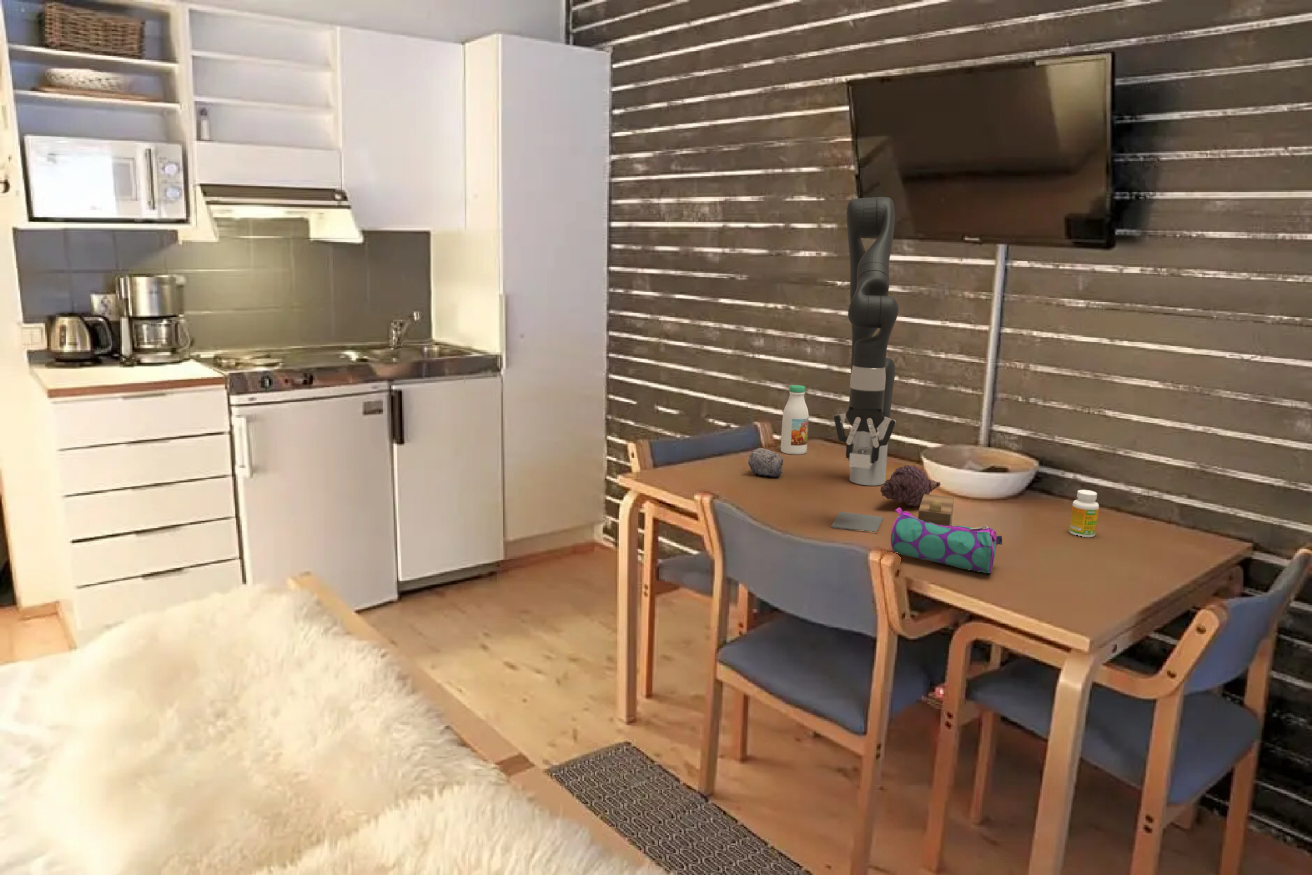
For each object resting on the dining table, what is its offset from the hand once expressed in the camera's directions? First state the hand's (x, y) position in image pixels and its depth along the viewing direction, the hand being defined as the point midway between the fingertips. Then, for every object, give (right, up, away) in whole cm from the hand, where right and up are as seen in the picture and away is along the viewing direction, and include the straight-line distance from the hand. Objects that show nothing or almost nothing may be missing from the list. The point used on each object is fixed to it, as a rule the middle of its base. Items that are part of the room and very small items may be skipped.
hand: (861, 461), depth 214 cm
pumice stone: (-16, -5, +43) cm, 46 cm away
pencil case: (+12, -20, -21) cm, 32 cm away
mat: (0, -14, +3) cm, 15 cm away
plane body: (+15, -16, -5) cm, 23 cm away
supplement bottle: (+49, -16, 0) cm, 52 cm away
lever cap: (0, -1, 0) cm, 1 cm away
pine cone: (+15, -12, +18) cm, 26 cm away
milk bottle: (-5, +1, +70) cm, 70 cm away
